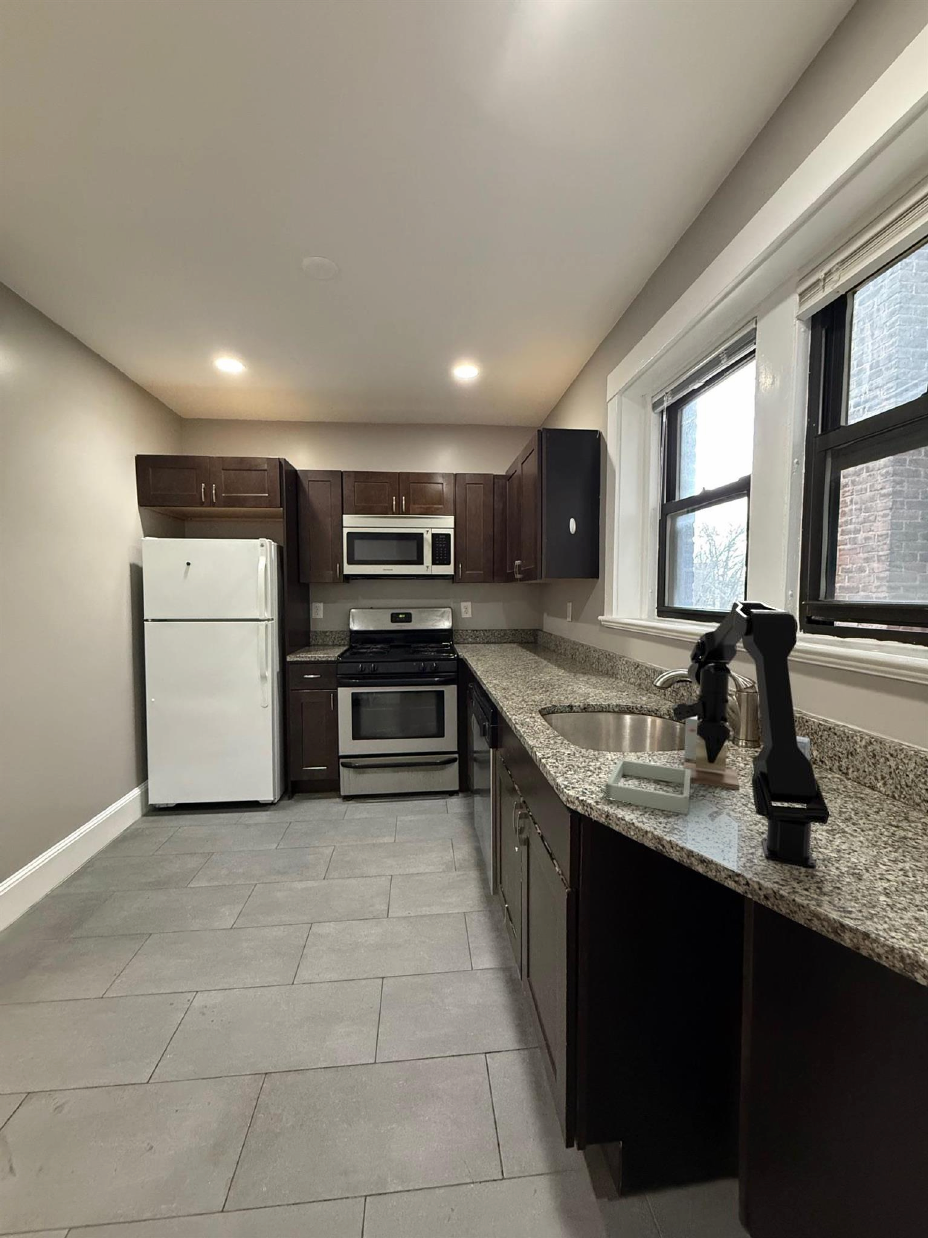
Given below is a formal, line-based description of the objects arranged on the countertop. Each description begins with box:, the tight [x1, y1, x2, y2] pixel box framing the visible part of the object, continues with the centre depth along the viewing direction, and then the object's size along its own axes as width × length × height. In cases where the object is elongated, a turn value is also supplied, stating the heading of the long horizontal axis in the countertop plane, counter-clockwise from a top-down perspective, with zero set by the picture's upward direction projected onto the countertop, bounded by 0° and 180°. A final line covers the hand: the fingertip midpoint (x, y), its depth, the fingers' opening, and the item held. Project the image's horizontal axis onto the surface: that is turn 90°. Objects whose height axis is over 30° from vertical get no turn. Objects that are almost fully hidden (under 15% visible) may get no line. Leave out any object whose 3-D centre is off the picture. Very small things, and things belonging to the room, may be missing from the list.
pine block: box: [695, 736, 728, 772], centre depth 114 cm, size 4×6×6 cm
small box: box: [684, 716, 701, 761], centre depth 127 cm, size 8×6×10 cm
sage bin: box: [605, 758, 691, 815], centre depth 105 cm, size 18×15×3 cm
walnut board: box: [683, 761, 740, 790], centre depth 114 cm, size 11×11×1 cm
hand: (710, 760), depth 114 cm, fingers closed on pine block, 4 cm apart
